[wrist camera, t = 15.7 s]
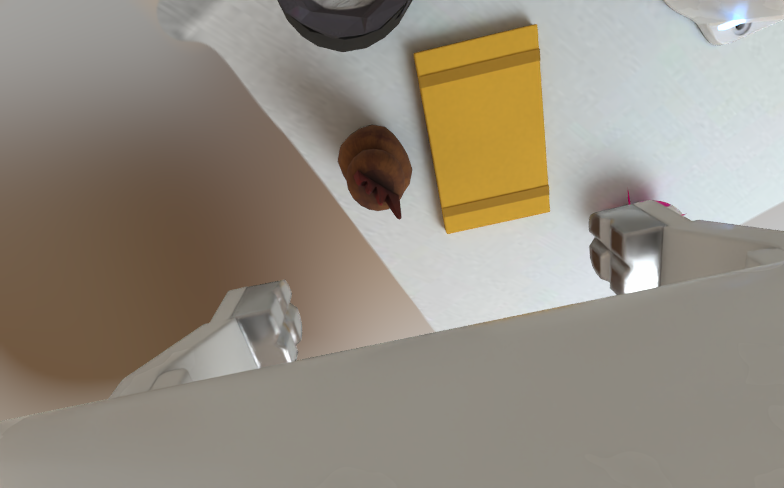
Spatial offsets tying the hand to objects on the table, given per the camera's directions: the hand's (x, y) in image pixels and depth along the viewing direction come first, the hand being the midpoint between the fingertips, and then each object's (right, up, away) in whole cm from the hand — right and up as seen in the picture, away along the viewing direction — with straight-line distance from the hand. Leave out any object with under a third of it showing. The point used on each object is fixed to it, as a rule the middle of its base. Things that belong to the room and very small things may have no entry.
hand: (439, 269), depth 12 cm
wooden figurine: (-3, +10, +32) cm, 34 cm away
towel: (+8, +11, +32) cm, 35 cm away
